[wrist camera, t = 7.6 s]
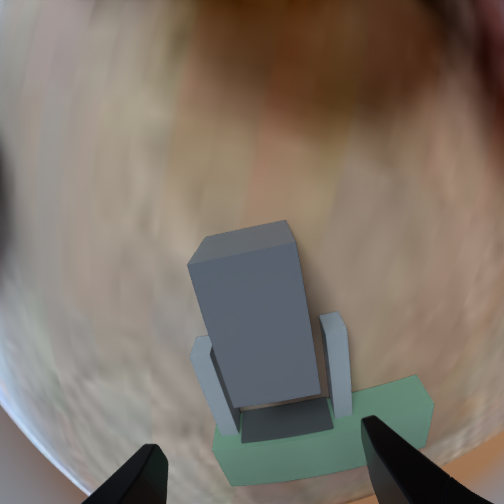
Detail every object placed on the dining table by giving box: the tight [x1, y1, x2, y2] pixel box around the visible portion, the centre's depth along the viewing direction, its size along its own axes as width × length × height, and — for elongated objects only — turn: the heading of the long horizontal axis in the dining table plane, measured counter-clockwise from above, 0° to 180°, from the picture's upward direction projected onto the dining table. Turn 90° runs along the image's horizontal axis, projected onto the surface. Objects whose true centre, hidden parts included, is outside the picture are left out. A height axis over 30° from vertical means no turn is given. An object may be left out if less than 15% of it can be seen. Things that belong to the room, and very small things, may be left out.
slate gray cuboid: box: [187, 220, 321, 408], centre depth 16 cm, size 4×8×5 cm, turn 12°
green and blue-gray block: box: [190, 311, 434, 486], centre depth 19 cm, size 15×12×4 cm
